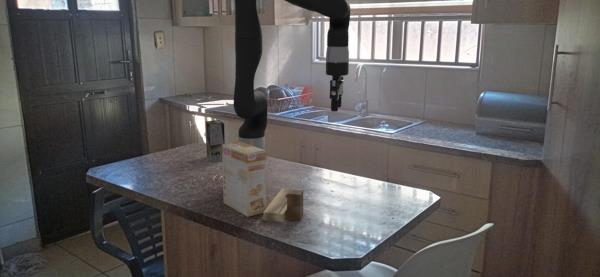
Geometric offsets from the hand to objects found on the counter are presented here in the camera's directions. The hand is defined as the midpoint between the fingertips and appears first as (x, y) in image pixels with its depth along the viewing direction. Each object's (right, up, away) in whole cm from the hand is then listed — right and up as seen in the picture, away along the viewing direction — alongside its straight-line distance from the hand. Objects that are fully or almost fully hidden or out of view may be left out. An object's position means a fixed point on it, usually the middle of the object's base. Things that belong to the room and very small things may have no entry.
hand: (336, 109), depth 162 cm
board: (-18, -31, -12) cm, 38 cm away
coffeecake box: (-29, -32, -12) cm, 45 cm away
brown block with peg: (-14, -33, -20) cm, 41 cm away
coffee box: (-48, -19, +43) cm, 67 cm away
